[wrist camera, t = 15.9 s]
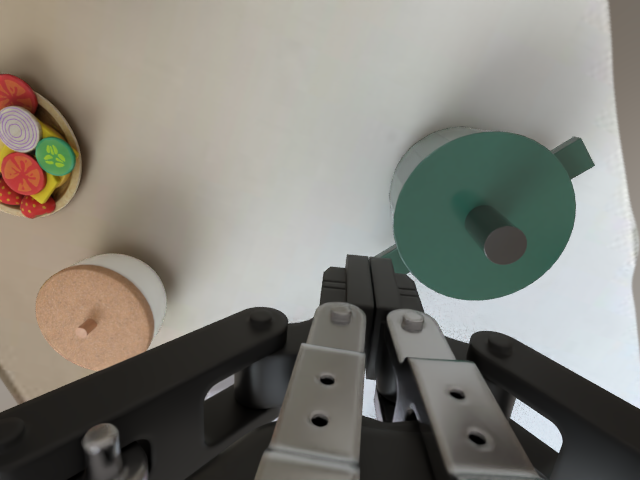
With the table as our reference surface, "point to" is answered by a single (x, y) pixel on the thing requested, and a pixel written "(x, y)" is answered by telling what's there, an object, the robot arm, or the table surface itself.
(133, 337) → the trinket box
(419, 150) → the pot
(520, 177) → the lid
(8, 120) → the toy food set
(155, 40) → the table surface
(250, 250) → the table surface
